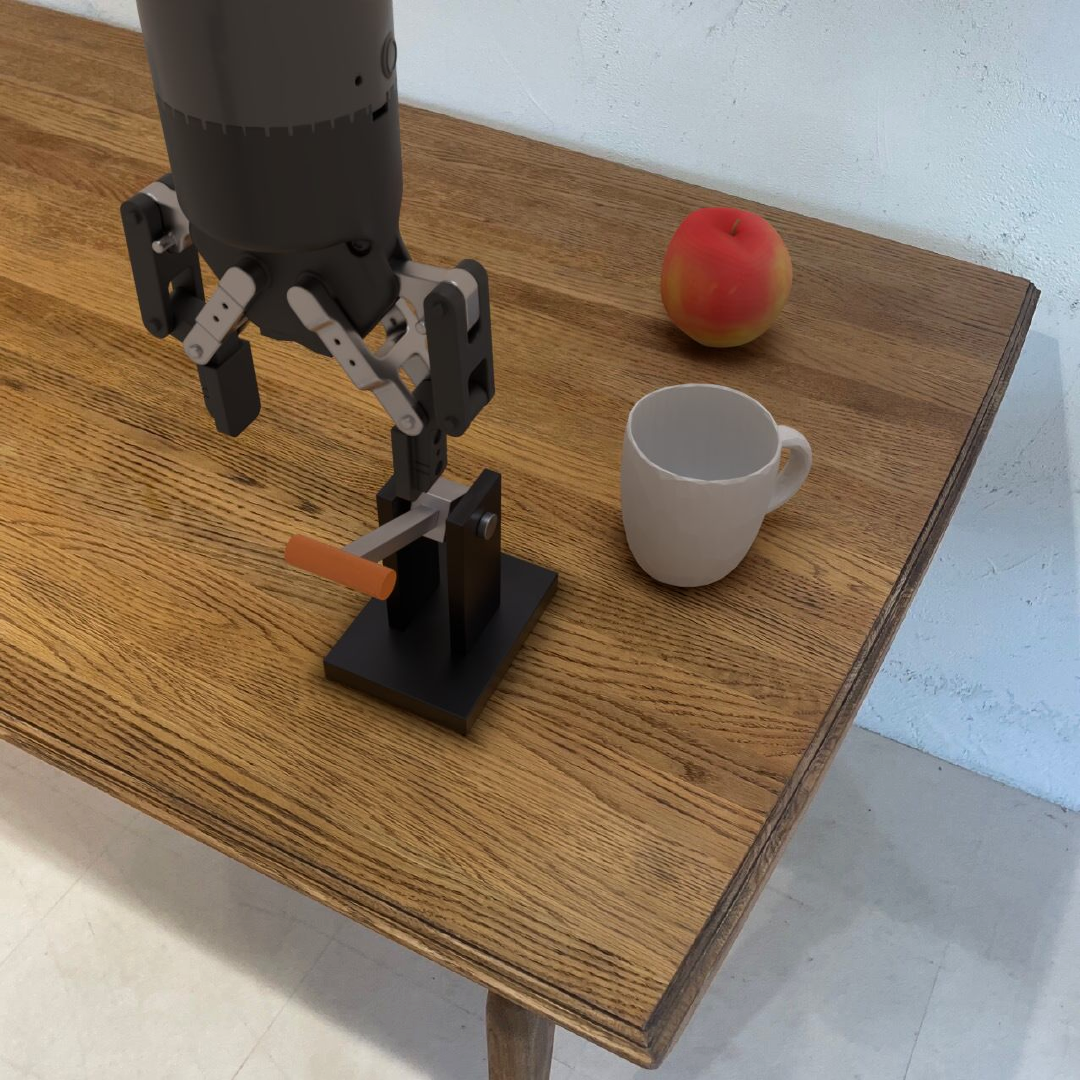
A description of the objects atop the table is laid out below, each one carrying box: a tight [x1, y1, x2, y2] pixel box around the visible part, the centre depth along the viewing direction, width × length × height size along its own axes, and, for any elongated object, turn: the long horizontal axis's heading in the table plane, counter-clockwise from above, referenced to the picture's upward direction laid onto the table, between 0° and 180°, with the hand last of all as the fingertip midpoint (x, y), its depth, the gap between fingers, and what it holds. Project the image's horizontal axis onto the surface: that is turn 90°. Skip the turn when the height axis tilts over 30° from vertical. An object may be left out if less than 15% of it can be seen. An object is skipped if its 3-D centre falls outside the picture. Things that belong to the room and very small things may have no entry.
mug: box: [619, 382, 813, 588], centre depth 69 cm, size 13×9×10 cm
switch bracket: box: [322, 467, 559, 736], centre depth 63 cm, size 12×9×12 cm
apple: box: [659, 206, 794, 348], centre depth 85 cm, size 10×10×10 cm
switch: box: [283, 476, 471, 600], centre depth 56 cm, size 12×5×2 cm, turn 155°
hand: (327, 455), depth 47 cm, fingers open, 8 cm apart
